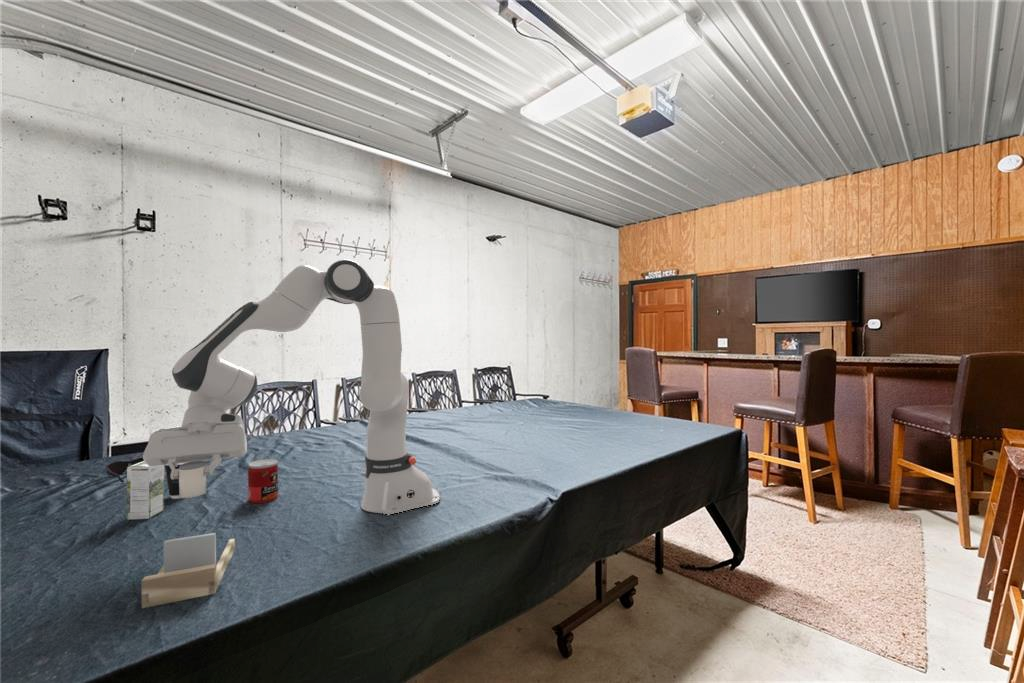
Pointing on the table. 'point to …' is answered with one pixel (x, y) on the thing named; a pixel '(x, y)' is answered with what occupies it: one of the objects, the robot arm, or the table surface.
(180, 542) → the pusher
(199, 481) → the jar
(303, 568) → the table surface
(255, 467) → the canned food
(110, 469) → the sunglasses
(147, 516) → the syrup box
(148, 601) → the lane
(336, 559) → the table surface
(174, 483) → the dixie cup
